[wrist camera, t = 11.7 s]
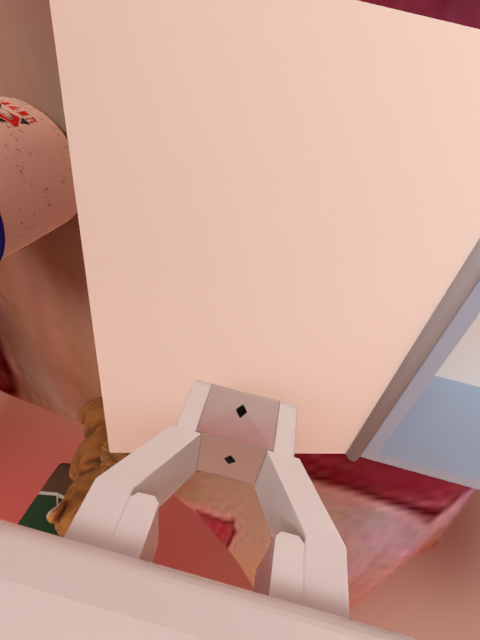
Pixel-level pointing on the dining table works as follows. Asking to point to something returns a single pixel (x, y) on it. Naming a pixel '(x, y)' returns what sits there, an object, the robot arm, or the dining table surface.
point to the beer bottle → (48, 500)
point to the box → (439, 408)
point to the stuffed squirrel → (85, 465)
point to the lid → (269, 202)
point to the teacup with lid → (32, 176)
